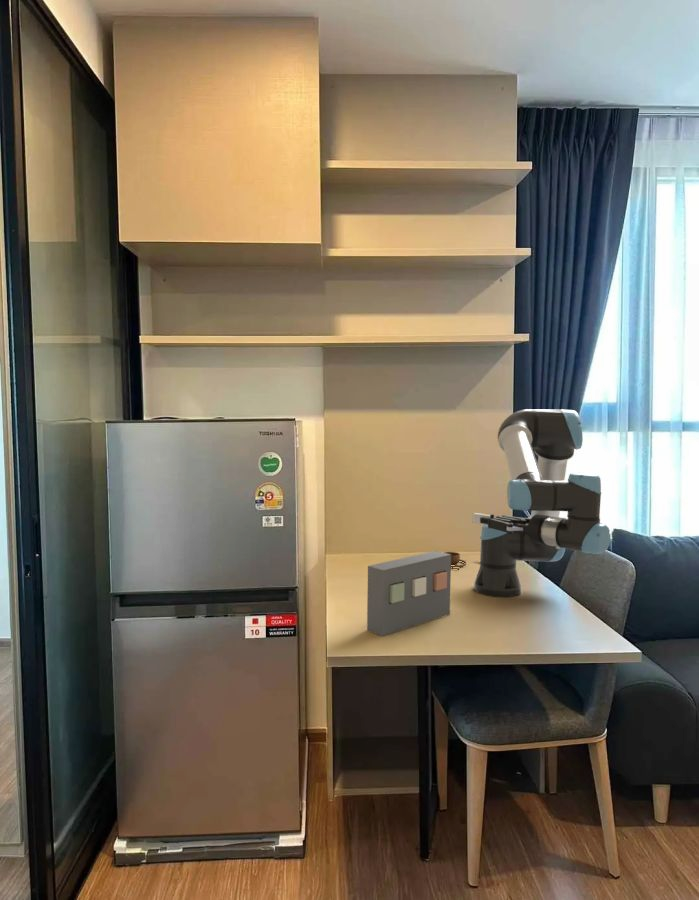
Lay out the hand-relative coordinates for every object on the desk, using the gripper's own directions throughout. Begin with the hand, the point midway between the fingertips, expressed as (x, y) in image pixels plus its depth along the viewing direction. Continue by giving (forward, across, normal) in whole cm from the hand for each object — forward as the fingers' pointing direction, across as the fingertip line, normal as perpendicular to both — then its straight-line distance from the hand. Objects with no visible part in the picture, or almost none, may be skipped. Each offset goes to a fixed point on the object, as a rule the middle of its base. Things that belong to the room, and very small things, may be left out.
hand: (474, 517), depth 188 cm
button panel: (+10, -14, -30) cm, 35 cm away
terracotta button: (+10, -5, -21) cm, 24 cm away
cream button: (+10, -14, -21) cm, 27 cm away
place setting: (+43, +49, -31) cm, 72 cm away
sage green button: (+10, -23, -21) cm, 33 cm away
